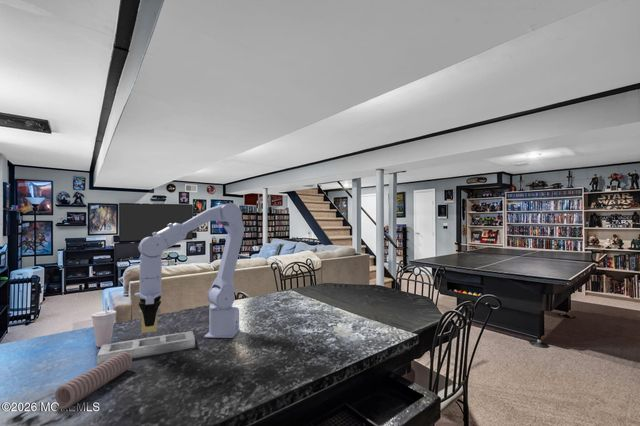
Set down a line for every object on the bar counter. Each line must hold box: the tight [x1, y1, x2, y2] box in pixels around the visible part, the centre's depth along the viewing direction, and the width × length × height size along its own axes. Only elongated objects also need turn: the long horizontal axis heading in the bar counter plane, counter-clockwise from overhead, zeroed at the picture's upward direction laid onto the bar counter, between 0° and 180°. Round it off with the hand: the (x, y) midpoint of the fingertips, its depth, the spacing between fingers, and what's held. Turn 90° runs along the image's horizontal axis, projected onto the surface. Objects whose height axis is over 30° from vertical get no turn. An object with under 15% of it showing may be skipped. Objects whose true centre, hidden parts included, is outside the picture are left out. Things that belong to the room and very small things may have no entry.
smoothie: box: [90, 297, 117, 348], centre depth 95 cm, size 6×6×14 cm
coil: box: [54, 352, 133, 410], centre depth 70 cm, size 5×5×18 cm
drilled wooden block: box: [137, 307, 161, 334], centre depth 90 cm, size 6×4×6 cm
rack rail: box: [96, 330, 196, 366], centre depth 90 cm, size 24×8×2 cm, turn 118°
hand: (149, 323), depth 90 cm, fingers closed on drilled wooden block, 4 cm apart
